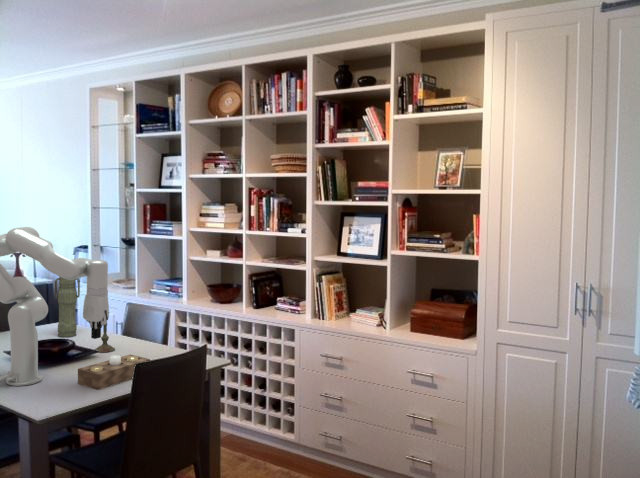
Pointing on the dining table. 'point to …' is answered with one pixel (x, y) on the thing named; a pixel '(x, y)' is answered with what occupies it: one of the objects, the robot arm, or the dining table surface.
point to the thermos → (67, 306)
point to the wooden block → (108, 373)
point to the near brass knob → (96, 368)
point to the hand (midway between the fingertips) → (96, 337)
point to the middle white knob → (115, 360)
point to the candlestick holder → (105, 341)
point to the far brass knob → (132, 358)
